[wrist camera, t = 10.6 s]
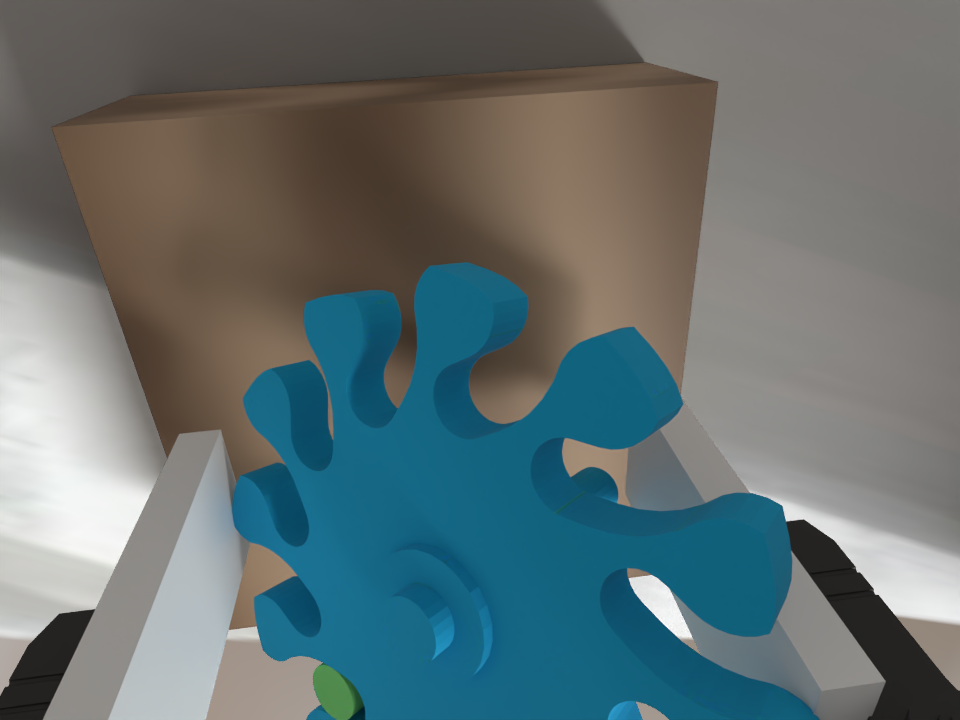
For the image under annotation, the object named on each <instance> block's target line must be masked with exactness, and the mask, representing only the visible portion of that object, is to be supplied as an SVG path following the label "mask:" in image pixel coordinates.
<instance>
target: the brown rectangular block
mask: <svg viewBox="0 0 960 720" xmlns="http://www.w3.org/2000/svg"><path fill="white" fill-rule="evenodd" d="M717 88H718V82H716V81H713V80H709V79H705V78H702V77H698V76H694V75H690V74H687V73H683V72H679V71H676V70H672V69H668V68H664V67H661V66H657V65H653V64H649V63H633V64H617V65H602V66H586V67H571V68H555V69H540V70H524V71H509V72H493V73H478V74H462V75H447V76H432V77H416V78H401V79H385V80H370V81H354V82H339V83H323V84H308V85H292V86H277V87H261V88H246V89H231V90H215V91H200V92H184V93H169V94H153V95H138V96H129V97H126V98H124V99H121V100H119V101H116V102H114V103H111V104H109V105H106V106H104V107H101V108H98V109H96V110H93V111H91V112H88V113H86V114H83V115H81V116H78V117H76V118H73V119H71V120H68V121H66V122H63V123H61V124H58V125H56V126H53V127H51V128H52V130H53V133H54V136H55V139H56V142H57V145H58V148H59V150H60V153H61V156H62V159H63V162H64V165H65V168H66V170H67V173H68V176H69V179H70V182H71V185H72V187H73V190H74V193H75V196H76V199H77V202H78V205H79V207H80V210H81V213H82V216H83V219H84V222H85V225H86V227H87V230H88V233H89V236H90V239H91V242H92V245H93V247H94V250H95V253H96V256H97V259H98V262H99V265H100V267H101V270H102V273H103V276H104V279H105V282H106V285H107V287H108V290H109V293H110V296H111V299H112V302H113V305H114V307H115V310H116V313H117V316H118V319H119V322H120V325H121V327H122V330H123V333H124V336H125V339H126V342H127V344H128V347H129V350H130V353H131V356H132V359H133V362H134V364H135V367H136V370H137V373H138V376H139V379H140V382H141V384H142V387H143V390H144V393H145V396H146V399H147V402H148V404H149V407H150V410H151V413H152V416H153V419H154V422H155V424H156V427H157V430H158V433H159V436H160V439H161V442H162V444H163V447H164V450H165V453H166V456H167V459H168V456H169V454H170V452H171V450H172V448H173V446H174V444H175V442H176V440H177V438H178V436H179V434H183V433H192V432H202V431H211V430H221V432H222V436H223V439H224V442H225V446H226V449H227V453H228V456H229V460H230V463H231V466H232V470H233V473H234V477H235V480H236V483H237V481H238V479H239V477H240V475H243V474H246V473H249V472H252V471H254V470H257V469H260V468H263V467H265V466H268V465H271V464H274V463H276V462H278V463H282V464H284V465H286V464H285V463H284V461H283V460H282V458H281V457H280V455H279V454H278V452H277V451H276V450H275V449H274V447H273V446H272V445H271V444H270V443H269V442H268V441H267V439H265V438H264V437H263V436H262V435H261V434H260V433H258V432H257V431H256V429H255V428H254V427H253V426H252V424H251V422H250V420H249V419H248V417H247V414H246V411H245V408H244V404H243V397H244V395H245V394H246V392H247V390H248V389H249V387H250V385H251V384H252V383H253V381H254V380H255V379H256V378H257V377H258V376H259V375H260V374H261V373H262V372H264V371H266V370H268V369H271V368H275V367H279V366H284V365H288V364H293V363H297V362H302V361H306V360H310V361H311V362H313V363H314V364H315V365H316V367H317V368H318V369H319V370H320V372H321V374H322V376H323V378H324V381H325V383H326V379H325V376H324V373H323V371H322V368H321V366H320V363H319V361H318V359H317V357H316V355H315V353H314V351H313V349H312V348H311V346H310V344H309V341H308V338H307V336H306V332H305V327H304V308H305V303H306V302H309V301H312V300H314V299H317V298H320V297H325V296H330V295H336V294H344V293H352V292H359V291H367V290H384V291H387V292H391V293H393V294H394V296H395V298H396V300H397V302H398V305H399V308H400V313H401V333H400V337H399V340H398V342H397V345H396V347H395V349H394V350H393V352H392V354H391V356H390V358H389V360H388V362H387V364H386V367H385V372H384V383H385V388H386V391H387V394H388V396H389V398H390V400H391V401H392V403H393V404H394V405H395V406H396V407H397V408H399V406H400V404H401V402H402V401H403V399H404V396H405V394H406V392H407V390H408V388H409V386H410V382H411V379H412V375H413V371H414V368H415V360H416V352H417V326H416V319H415V311H414V295H415V291H416V287H417V284H418V282H419V280H420V278H421V276H422V274H423V273H424V272H425V270H426V269H427V268H428V267H429V266H433V265H443V264H453V263H464V262H468V263H471V264H474V265H477V266H480V267H483V268H486V269H488V270H491V271H493V272H495V273H497V274H499V275H501V276H503V277H505V278H506V279H508V280H509V281H511V282H512V283H514V284H515V285H517V286H518V287H519V288H520V289H521V290H522V291H523V292H524V293H525V294H526V295H527V296H528V307H529V308H528V315H527V320H526V323H525V326H524V328H523V330H522V331H521V333H520V335H519V336H518V337H517V338H516V339H515V340H514V341H513V342H512V343H510V344H508V345H507V346H505V347H503V348H500V349H498V350H495V351H493V352H491V353H488V354H486V355H484V356H482V357H481V358H479V359H478V360H477V361H476V363H475V364H474V366H473V368H472V369H471V373H470V377H469V390H470V395H471V398H472V400H473V403H474V404H475V406H476V408H477V409H478V411H479V412H480V413H481V414H482V415H483V416H484V417H486V418H487V419H489V420H490V421H493V422H495V423H500V424H507V423H512V422H515V421H518V420H521V419H522V418H524V417H525V416H526V415H528V414H529V413H530V412H531V411H532V410H533V409H534V408H535V406H536V405H537V404H538V403H539V402H540V401H541V400H542V399H543V397H544V395H545V394H546V392H547V391H548V389H549V387H550V386H551V384H552V383H553V380H554V378H555V375H556V373H557V371H558V368H559V366H560V363H561V361H562V360H563V358H564V357H565V355H566V354H567V353H568V351H569V350H570V349H572V348H573V347H574V346H575V345H577V344H578V343H580V342H582V341H584V340H587V339H589V338H592V337H595V336H598V335H601V334H604V333H607V332H610V331H613V330H616V329H619V328H625V327H635V328H636V330H637V331H638V332H639V333H640V334H641V335H642V336H643V337H644V339H645V340H646V341H647V342H648V343H649V344H650V345H651V346H652V348H653V349H654V350H655V351H656V353H657V354H658V355H659V357H660V358H661V359H662V361H663V362H664V364H665V365H666V366H667V368H668V369H669V371H670V373H671V375H672V377H673V379H674V380H675V382H676V384H677V386H678V389H679V392H680V395H681V387H682V378H683V370H684V362H685V354H686V345H687V337H688V329H689V320H690V312H691V304H692V296H693V287H694V279H695V271H696V262H697V254H698V246H699V238H700V229H701V221H702V213H703V204H704V196H705V188H706V180H707V171H708V163H709V155H710V146H711V138H712V130H713V122H714V113H715V105H716V97H717ZM326 387H327V391H328V423H329V430H330V434H331V436H332V439H333V414H332V406H331V400H330V394H329V390H328V386H327V383H326ZM562 455H563V462H564V465H565V468H566V470H567V472H568V474H569V476H570V477H572V476H573V475H575V474H576V473H578V472H579V471H581V470H582V469H585V468H587V467H597V468H600V469H602V470H604V471H606V472H607V473H608V474H610V476H611V477H612V478H613V479H614V481H615V483H616V485H617V488H618V501H617V503H618V504H622V505H625V506H629V507H631V505H630V503H629V501H628V499H627V496H626V494H625V484H626V472H627V459H628V448H625V449H618V450H610V449H604V448H599V447H596V446H593V445H589V444H586V443H583V442H579V441H576V440H573V439H568V438H565V440H564V442H563V449H562ZM627 572H628V578H632V577H639V576H647V575H651V574H650V573H648V572H645V571H642V570H639V569H632V568H627ZM292 576H297V574H296V573H295V572H294V571H293V569H292V568H291V567H290V566H289V565H288V564H287V563H286V562H285V561H284V560H283V559H282V558H281V557H280V556H278V555H277V554H275V553H274V552H273V551H271V550H270V549H268V548H266V547H264V546H261V545H259V544H254V543H250V547H249V551H248V555H247V559H246V563H245V567H244V571H243V575H242V579H241V582H240V586H239V590H238V594H237V598H236V602H235V606H234V610H233V614H232V618H231V622H230V626H229V630H232V629H240V628H247V627H255V626H257V624H256V619H255V611H254V597H255V596H257V595H259V594H261V593H263V592H265V591H266V590H268V589H270V588H272V587H274V586H276V585H278V584H279V583H281V582H283V581H285V580H287V579H289V578H291V577H292Z"/></svg>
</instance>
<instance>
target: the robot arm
mask: <svg viewBox="0 0 960 720" xmlns="http://www.w3.org/2000/svg"><path fill="white" fill-rule="evenodd" d="M682 401H683V399H682ZM235 487H236V480H235V477H234V473H233V470H232V466H231V463H230V460H229V456H228V453H227V449H226V446H225V442H224V439H223V436H222V432H221V430H211V431H202V432H192V433H183V434H179V436H178V438H177V440H176V442H175V444H174V446H173V448H172V450H171V452H170V454H169V456H168V459H167V461H166V463H165V465H164V467H163V469H162V471H161V473H160V475H159V477H158V479H157V482H156V484H155V486H154V488H153V490H152V492H151V494H150V496H149V498H148V500H147V502H146V505H145V507H144V509H143V511H142V513H141V515H140V517H139V519H138V521H137V523H136V525H135V528H134V530H133V532H132V534H131V536H130V538H129V540H128V542H127V544H126V546H125V549H124V551H123V553H122V555H121V557H120V559H119V561H118V563H117V565H116V567H115V569H114V572H113V574H112V576H111V578H110V580H109V582H108V584H107V586H106V588H105V590H104V592H103V595H102V597H101V599H100V601H99V603H98V605H97V607H96V609H93V610H85V611H78V612H70V613H62V614H59V615H58V616H57V617H56V618H55V619H54V620H53V621H52V622H51V623H50V624H49V625H48V626H47V627H46V628H45V629H44V630H43V631H42V632H41V633H40V634H39V635H38V636H37V637H36V638H35V639H34V640H33V641H32V642H31V643H30V644H29V645H28V647H27V649H26V650H25V652H24V654H23V656H22V658H21V660H20V661H19V663H18V665H17V667H16V669H15V670H14V672H13V674H12V676H11V677H10V679H9V683H10V684H9V686H8V687H5V688H4V690H3V692H2V694H1V696H0V720H206V717H207V713H208V709H209V705H210V701H211V697H212V693H213V689H214V685H215V681H216V677H217V673H218V669H219V665H220V662H221V658H222V654H223V650H224V645H225V642H226V638H227V634H228V630H229V626H230V622H231V618H232V614H233V610H234V606H235V602H236V598H237V594H238V590H239V586H240V582H241V579H242V575H243V571H244V567H245V563H246V559H247V555H248V551H249V547H250V543H251V542H249V541H247V540H246V539H244V538H243V537H242V536H241V535H240V534H239V532H238V531H237V529H236V528H235V526H234V521H233V514H232V503H233V496H234V491H235ZM737 492H738V493H750V492H749V491H748V490H747V488H746V487H745V485H744V484H743V483H742V481H741V480H740V479H739V477H738V476H737V474H736V473H735V472H734V470H733V469H732V467H731V466H730V465H729V463H728V462H727V460H726V459H725V458H724V456H723V455H722V454H721V452H720V451H719V449H718V448H717V447H716V445H715V444H714V442H713V441H712V440H711V438H710V437H709V436H708V434H707V433H706V431H705V430H704V429H703V427H702V426H701V424H700V423H699V422H698V420H697V419H696V417H695V416H694V415H693V413H692V412H691V411H690V409H689V408H688V406H687V405H686V404H685V402H684V401H683V406H682V407H681V409H680V411H679V412H678V414H677V415H676V416H675V417H674V418H673V419H672V420H671V421H670V422H669V423H667V424H666V425H664V426H663V427H662V428H660V429H659V430H657V431H656V432H654V433H653V434H652V435H650V436H649V437H647V438H646V439H645V440H643V441H641V442H640V443H638V444H636V445H635V446H632V447H629V448H628V459H627V472H626V484H625V494H626V496H627V499H628V501H629V503H630V505H631V507H633V508H637V509H643V510H653V511H670V510H683V509H686V508H690V507H694V506H698V505H702V504H705V503H707V502H709V501H711V500H713V499H716V498H718V497H720V496H722V495H726V494H731V493H737ZM786 524H787V529H788V533H789V537H790V545H791V553H792V580H791V584H790V587H789V591H788V594H787V598H786V600H785V602H784V604H783V606H782V609H781V611H780V613H779V615H778V617H777V619H776V621H775V624H774V626H773V628H772V630H771V632H770V634H767V635H763V636H758V637H742V636H737V635H732V634H728V633H726V632H723V631H721V630H718V629H716V628H714V627H712V626H711V625H709V624H707V623H706V622H704V621H703V620H702V619H700V618H699V617H698V616H697V615H696V614H695V613H693V612H692V611H691V610H690V609H689V608H688V607H687V606H686V605H685V604H684V603H683V602H682V601H681V600H680V599H679V598H678V597H677V596H676V595H675V594H674V593H673V592H672V591H671V592H672V594H673V596H674V599H675V601H676V603H677V605H678V607H679V609H680V611H681V613H682V616H683V618H684V620H685V622H686V624H687V626H688V628H689V630H690V633H691V635H692V637H693V639H694V641H695V643H696V645H697V647H698V649H699V652H700V654H701V656H703V657H705V658H707V659H709V660H710V661H712V662H714V663H716V664H718V665H719V666H721V667H723V668H725V669H728V670H730V671H733V672H735V673H738V674H740V675H743V676H745V677H748V678H752V679H756V680H760V681H764V682H767V683H771V684H774V685H776V686H779V687H781V688H783V689H785V690H788V691H789V692H791V693H792V694H794V695H795V696H797V697H798V698H800V699H801V700H802V701H803V702H804V703H805V704H807V705H808V706H809V707H810V708H811V710H812V712H813V714H814V715H816V716H818V718H819V719H820V720H960V691H958V690H957V689H956V688H955V687H954V686H953V685H952V684H951V683H950V682H949V681H948V680H947V679H946V678H945V676H944V675H943V674H942V673H941V671H940V670H939V669H938V668H937V667H936V665H935V664H934V663H933V662H932V660H931V659H930V658H929V657H928V655H927V654H926V653H925V652H924V651H923V649H922V648H921V647H920V646H919V644H918V643H917V642H916V641H915V639H914V638H913V637H912V636H911V635H910V633H909V632H908V631H907V630H906V628H905V627H904V626H903V625H902V624H901V622H900V621H899V620H898V619H897V617H896V616H895V615H894V614H893V612H892V611H891V610H890V609H889V607H888V606H887V605H886V604H885V603H884V601H883V600H882V599H881V598H880V596H879V595H875V594H874V589H873V588H872V587H871V585H870V584H869V583H868V582H867V580H866V579H865V578H864V577H863V575H862V574H861V573H857V571H856V567H855V566H854V564H853V563H852V562H851V561H850V559H849V558H848V557H847V556H846V555H845V553H844V552H843V551H842V550H841V548H840V547H839V546H838V545H837V543H836V542H835V541H834V540H833V539H831V538H830V537H828V536H827V535H825V534H824V533H822V532H821V531H820V530H818V529H817V528H815V527H814V526H812V525H811V524H810V523H808V522H807V521H805V520H796V521H788V522H786ZM670 590H671V589H670Z"/></svg>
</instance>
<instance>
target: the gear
mask: <svg viewBox="0 0 960 720" xmlns="http://www.w3.org/2000/svg"><path fill="white" fill-rule="evenodd" d="M528 308H529V307H528V296H527V295H526V294H525V293H524V292H523V291H522V290H521V289H520V288H519V287H518V286H517V285H515V284H514V283H512V282H511V281H509V280H508V279H506V278H505V277H503V276H501V275H499V274H497V273H495V272H493V271H491V270H488V269H486V268H483V267H480V266H477V265H474V264H471V263H468V262H464V263H453V264H443V265H433V266H429V267H428V268H427V269H426V270H425V272H424V273H423V274H422V276H421V278H420V280H419V282H418V284H417V287H416V291H415V295H414V311H415V319H416V326H417V352H416V360H415V368H414V371H413V375H412V379H411V382H410V386H409V388H408V390H407V392H406V394H405V396H404V399H403V401H402V402H401V404H400V406H399V408H397V407H396V406H395V405H394V404H393V403H392V401H391V400H390V398H389V396H388V394H387V391H386V388H385V383H384V372H385V367H386V364H387V362H388V360H389V358H390V356H391V354H392V352H393V350H394V349H395V347H396V345H397V342H398V340H399V337H400V333H401V313H400V308H399V305H398V302H397V300H396V298H395V296H394V294H393V293H391V292H387V291H384V290H367V291H359V292H352V293H344V294H336V295H330V296H325V297H320V298H317V299H314V300H312V301H309V302H306V303H305V308H304V327H305V332H306V336H307V338H308V341H309V344H310V346H311V348H312V349H313V351H314V353H315V355H316V357H317V359H318V361H319V363H320V366H321V368H322V371H323V373H324V376H325V379H326V383H327V386H328V390H329V394H330V400H331V406H332V414H333V439H332V436H331V434H330V430H329V423H328V391H327V387H326V383H325V381H324V378H323V376H322V374H321V372H320V370H319V369H318V368H317V367H316V365H315V364H314V363H313V362H311V361H310V360H306V361H302V362H297V363H293V364H288V365H284V366H279V367H275V368H271V369H268V370H266V371H264V372H262V373H261V374H260V375H259V376H258V377H257V378H256V379H255V380H254V381H253V383H252V384H251V385H250V387H249V389H248V390H247V392H246V394H245V395H244V397H243V404H244V408H245V411H246V414H247V417H248V419H249V420H250V422H251V424H252V426H253V427H254V428H255V429H256V431H257V432H258V433H260V434H261V435H262V436H263V437H264V438H265V439H267V441H268V442H269V443H270V444H271V445H272V446H273V447H274V449H275V450H276V451H277V452H278V454H279V455H280V457H281V458H282V460H283V461H284V463H285V464H286V465H284V464H282V463H278V462H276V463H274V464H271V465H268V466H265V467H263V468H260V469H257V470H254V471H252V472H249V473H246V474H243V475H240V477H239V479H238V481H237V483H236V487H235V491H234V496H233V503H232V514H233V521H234V526H235V528H236V529H237V531H238V532H239V534H240V535H241V536H242V537H243V538H244V539H246V540H247V541H249V542H251V543H254V544H259V545H261V546H264V547H266V548H268V549H270V550H271V551H273V552H274V553H275V554H277V555H278V556H280V557H281V558H282V559H283V560H284V561H285V562H286V563H287V564H288V565H289V566H290V567H291V568H292V569H293V571H294V572H295V573H296V574H297V576H292V577H291V578H289V579H287V580H285V581H283V582H281V583H279V584H278V585H276V586H274V587H272V588H270V589H268V590H266V591H265V592H263V593H261V594H259V595H257V596H255V597H254V611H255V619H256V624H257V629H258V633H259V637H260V641H261V645H262V648H263V651H264V652H265V653H266V654H267V655H268V656H270V657H271V658H273V659H275V660H277V661H285V660H287V659H289V658H291V657H296V656H306V657H311V658H313V659H317V660H319V661H321V662H323V663H322V664H321V665H319V666H318V667H317V668H316V669H315V671H314V674H313V685H314V690H315V692H316V695H317V698H318V700H319V702H320V703H321V705H320V706H318V707H317V708H316V709H314V710H313V711H312V712H311V713H310V714H309V715H308V717H307V719H306V720H642V717H641V714H640V712H639V709H638V706H637V704H636V701H637V702H641V703H644V704H647V705H649V706H651V707H653V708H655V709H657V710H658V711H660V712H661V713H662V714H664V715H665V716H666V717H667V718H668V719H669V720H820V719H819V718H818V716H816V715H814V714H813V712H812V710H811V708H810V707H809V706H808V705H807V704H805V703H804V702H803V701H802V700H801V699H800V698H798V697H797V696H795V695H794V694H792V693H791V692H789V691H788V690H785V689H783V688H781V687H779V686H776V685H774V684H771V683H767V682H764V681H760V680H756V679H752V678H748V677H745V676H743V675H740V674H738V673H735V672H733V671H730V670H728V669H725V668H723V667H721V666H719V665H718V664H716V663H714V662H712V661H710V660H709V659H707V658H705V657H703V656H701V655H700V654H698V653H697V652H696V651H694V650H693V649H692V648H690V647H689V646H687V645H686V644H685V643H683V642H682V641H681V640H680V639H679V638H677V637H676V636H675V635H674V634H673V633H672V632H671V631H670V630H669V629H668V628H667V627H666V626H664V625H663V624H662V623H661V622H660V621H659V619H658V618H657V617H656V616H655V615H654V614H653V613H652V612H651V611H650V610H649V609H648V608H647V607H646V606H645V605H644V604H643V603H642V602H641V600H640V599H639V598H638V597H637V596H636V594H635V593H634V591H633V589H632V587H631V585H630V582H629V579H628V572H627V568H632V569H639V570H642V571H645V572H648V573H650V574H651V575H653V576H655V577H657V578H658V579H659V580H661V581H662V582H663V583H664V584H665V585H667V586H668V587H669V588H670V589H671V591H672V592H673V593H674V594H675V595H676V596H677V597H678V598H679V599H680V600H681V601H682V602H683V603H684V604H685V605H686V606H687V607H688V608H689V609H690V610H691V611H692V612H693V613H695V614H696V615H697V616H698V617H699V618H700V619H702V620H703V621H704V622H706V623H707V624H709V625H711V626H712V627H714V628H716V629H718V630H721V631H723V632H726V633H728V634H732V635H737V636H742V637H758V636H763V635H767V634H770V632H771V630H772V628H773V626H774V624H775V621H776V619H777V617H778V615H779V613H780V611H781V609H782V606H783V604H784V602H785V600H786V598H787V594H788V591H789V587H790V584H791V580H792V553H791V545H790V537H789V533H788V529H787V524H786V520H785V516H784V511H783V507H782V505H780V504H778V503H776V502H774V501H772V500H771V499H769V498H766V497H763V496H759V495H756V494H753V493H738V492H737V493H731V494H726V495H722V496H720V497H718V498H716V499H713V500H711V501H709V502H707V503H705V504H702V505H698V506H694V507H690V508H686V509H683V510H670V511H653V510H643V509H637V508H633V507H629V506H625V505H622V504H618V503H617V501H618V488H617V485H616V483H615V481H614V479H613V478H612V477H611V476H610V474H608V473H607V472H606V471H604V470H602V469H600V468H597V467H587V468H585V469H582V470H581V471H579V472H578V473H576V474H575V475H573V476H572V477H570V476H569V474H568V472H567V470H566V468H565V465H564V462H563V455H562V449H563V442H564V440H565V438H568V439H573V440H576V441H579V442H583V443H586V444H589V445H593V446H596V447H599V448H604V449H610V450H618V449H625V448H629V447H632V446H635V445H636V444H638V443H640V442H641V441H643V440H645V439H646V438H647V437H649V436H650V435H652V434H653V433H654V432H656V431H657V430H659V429H660V428H662V427H663V426H664V425H666V424H667V423H669V422H670V421H671V420H672V419H673V418H674V417H675V416H676V415H677V414H678V412H679V411H680V409H681V407H682V406H683V401H682V398H681V395H680V392H679V389H678V386H677V384H676V382H675V380H674V379H673V377H672V375H671V373H670V371H669V369H668V368H667V366H666V365H665V364H664V362H663V361H662V359H661V358H660V357H659V355H658V354H657V353H656V351H655V350H654V349H653V348H652V346H651V345H650V344H649V343H648V342H647V341H646V340H645V339H644V337H643V336H642V335H641V334H640V333H639V332H638V331H637V330H636V328H635V327H625V328H619V329H616V330H613V331H610V332H607V333H604V334H601V335H598V336H595V337H592V338H589V339H587V340H584V341H582V342H580V343H578V344H577V345H575V346H574V347H573V348H572V349H570V350H569V351H568V353H567V354H566V355H565V357H564V358H563V360H562V361H561V363H560V366H559V368H558V371H557V373H556V375H555V378H554V380H553V383H552V384H551V386H550V387H549V389H548V391H547V392H546V394H545V395H544V397H543V399H542V400H541V401H540V402H539V403H538V404H537V405H536V406H535V408H534V409H533V410H532V411H531V412H530V413H529V414H528V415H526V416H525V417H524V418H522V419H521V420H518V421H515V422H512V423H507V424H500V423H495V422H493V421H490V420H489V419H487V418H486V417H484V416H483V415H482V414H481V413H480V412H479V411H478V409H477V408H476V406H475V404H474V403H473V400H472V398H471V395H470V390H469V377H470V373H471V369H472V368H473V366H474V364H475V363H476V361H477V360H478V359H479V358H481V357H482V356H484V355H486V354H488V353H491V352H493V351H495V350H498V349H500V348H503V347H505V346H507V345H508V344H510V343H512V342H513V341H514V340H515V339H516V338H517V337H518V336H519V335H520V333H521V331H522V330H523V328H524V326H525V323H526V320H527V315H528Z"/></svg>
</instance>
